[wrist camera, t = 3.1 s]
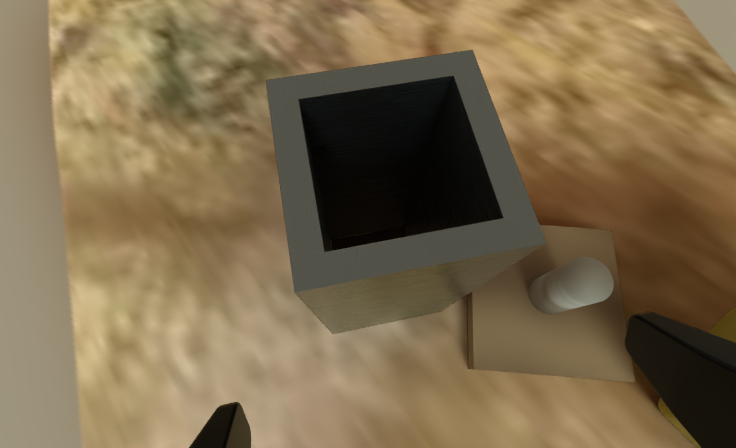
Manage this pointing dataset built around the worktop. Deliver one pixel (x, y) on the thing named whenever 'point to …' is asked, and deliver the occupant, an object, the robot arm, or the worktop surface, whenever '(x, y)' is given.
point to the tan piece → (554, 311)
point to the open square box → (396, 187)
